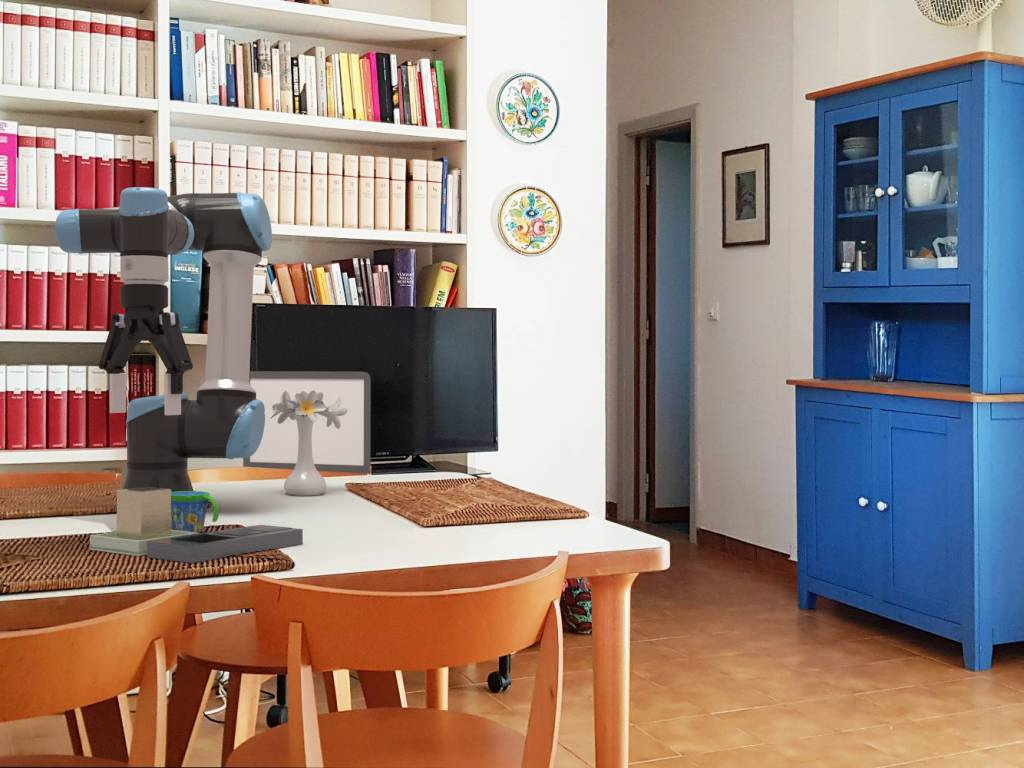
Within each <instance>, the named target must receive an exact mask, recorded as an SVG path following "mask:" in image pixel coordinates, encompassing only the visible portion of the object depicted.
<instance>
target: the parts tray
mask: <svg viewBox="0 0 1024 768" xmlns="http://www.w3.org/2000/svg"><path fill="white" fill-rule="evenodd" d="M193 534H198V533H195V532H186V531H177V530H171V536H168V537H161V538H154V539H147V540H140V541H138V540H130V539H122V538H117V531H113V532H107V533H97V534H90V535H89V550H91V551H97V552H106V553H114V554H120V555H127V556H128V555H129V556H135V557H142V556H143V557H144V556H147V541H152V540H159V539H166V538H173V537H179V536H186V535H193Z"/></svg>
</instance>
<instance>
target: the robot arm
mask: <svg viewBox="0 0 1024 768" xmlns="http://www.w3.org/2000/svg"><path fill="white" fill-rule="evenodd" d="M119 196H120V197H119V206H114V207H103V208H92V209H91V208H90V209H89V208H86V209H85V208H83V209H80V208H75V209H65V210H62V211H61V212H59V213H58V215H57V217H56V219H55V224H54V231H55V232H54V233H55V240H56V243H57V245H58V247H59V248H60V249H61V251H63V252H64V253H67V254H69V253H70V254H79V255H82V254H119V256H120V259H119V260H120V262H119V263H120V265H119V266H120V268H119V269H120V272H119V273H120V278H119V279H120V281H121V282H124V283H123V284H121V286H120V287H119V305H120V306H121V307H122V308H124V309H125V313H124V314H123V313H112V314H111V316H110V319H111V320H110V328H109V331H108V335H107V337H106V341H105V343H104V347H103V351H102V353H101V356H100V360H99V363H98V368H99V369H100V370H104V371H105V373H106V374H107V383H108V384H107V385H108V386H107V389H108V393H109V414H118V413H119V414H121V413H122V414H124V413H127V415H126V420H125V425H126V475H125V478H124V481H123V484H122V488H121V489H131V488H141V487H153V488H165V489H171V492H176V491H194V487H193V485H192V481H191V478H190V475H189V470H188V459H227V460H234V459H243V458H247V457H250V456H252V455H253V454H254V453H255V452H256V451H257V449H258V447H259V445H260V443H261V440H262V436H263V432H264V426H265V414H264V413H265V407H264V404H263V402H262V401H259V400H258V399H256V391H255V390H254V389H253V388H252V387H251V386H250V384H249V371H251V370H250V368H251V361H250V360H251V341H252V340H251V339H252V317H253V316H252V315H253V294H254V293H253V292H254V289H253V288H254V269H255V267H256V266H257V265H259V264H260V263H261V262H262V259H263V258H262V257H263V252H267V251H269V250H270V249H271V247H272V243H273V231H272V230H273V229H272V224H271V223H272V222H271V219H270V218H271V217H270V213H269V210H268V208H267V205H266V202H265V201H264V199H263V198H262V196H260V195H258V194H256V193H251V192H250V193H249V192H247V193H244V192H243V193H242V192H241V191H237V192H222V193H221V192H216V193H215V192H212V193H211V192H210V193H208V192H207V193H206V192H204V193H196V192H194V193H192V192H191V193H189V192H187V193H181V194H174V195H170V196H168V193H167V192H166V191H165V190H163V189H160V188H156V187H155V188H154V187H144V186H143V187H142V186H140V187H139V186H138V187H136V186H134V187H126V188H125V189H123V190H122V191H121V193H120V195H119ZM187 251H202V252H203V253H202V257H203V259H204V260H205V261H206V262H207V263H208V264H209V265H210V268H209V269H210V273H209V290H208V291H209V292H208V294H209V295H208V311H207V332H206V333H207V335H206V336H207V338H206V340H207V341H206V358H205V359H206V360H205V362H206V363H205V378H204V379H205V380H204V383H203V384H201V386H199V387H198V388H197V390H196V399H189V396H188V394H187V393H186V392H184V391H183V390H184V388H183V386H184V383H183V382H184V374H185V373H186V372H187V371H191V370H193V367H194V365H193V361H192V358H191V356H190V353H189V350H188V348H187V344H186V341H185V338H184V336H183V333H182V329H181V327H180V319H179V318H180V317H179V313H178V312H171V311H170V312H169V311H167V312H165V310H164V309H167V308H168V307H169V287H168V285H165V283H168V282H169V277H170V276H169V256H170V255H171V256H177V255H181V254H184V253H185V252H187ZM142 342H149V343H150V344H152V346H153V348H154V349H155V352H156V353H157V354H158V356H159V359H160V361H162V364H163V365H164V367H165V369H166V371H164V376H163V377H164V380H163V382H164V385H163V386H164V392H163V393H164V394H161V395H159V394H158V395H153V396H145V397H139V398H134V399H131V401H130V402H129V403H128V406H127V374H126V371H125V367H126V365H127V363H128V361H129V360H130V358H131V356H132V355H133V353H134V350H135V349H136V347H137V345H138V344H139V343H142Z"/></svg>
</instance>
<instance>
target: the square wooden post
mask: <svg viewBox="0 0 1024 768" xmlns="http://www.w3.org/2000/svg"><path fill="white" fill-rule="evenodd" d="M116 532H117V538H122V539H130V540H138V541H140V540H147V539H154V538H161V537H168V536H171V489H165V488H153V487H141V488H131V489H122V488H121V489H116Z"/></svg>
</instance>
